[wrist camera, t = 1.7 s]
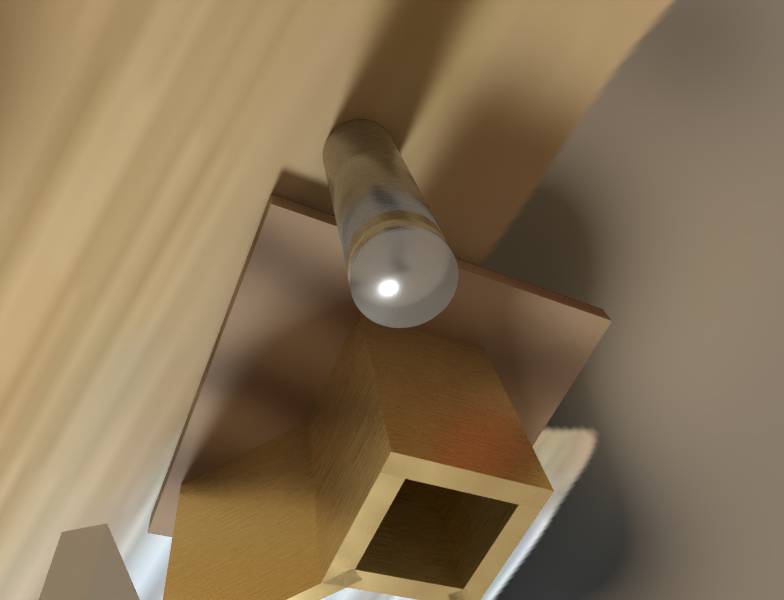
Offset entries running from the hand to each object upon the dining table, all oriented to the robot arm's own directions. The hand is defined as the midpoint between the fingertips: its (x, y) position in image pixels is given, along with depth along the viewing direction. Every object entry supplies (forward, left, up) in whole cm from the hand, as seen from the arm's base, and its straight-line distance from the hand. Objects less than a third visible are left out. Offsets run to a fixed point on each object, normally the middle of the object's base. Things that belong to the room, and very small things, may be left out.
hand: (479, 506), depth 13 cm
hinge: (+13, +6, -19) cm, 24 cm away
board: (+13, +6, -21) cm, 25 cm away
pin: (0, 0, -21) cm, 21 cm away
